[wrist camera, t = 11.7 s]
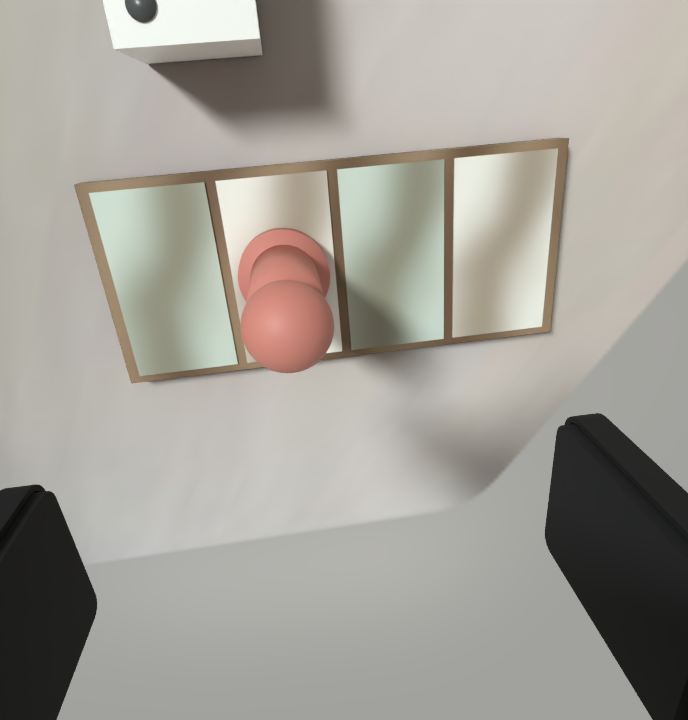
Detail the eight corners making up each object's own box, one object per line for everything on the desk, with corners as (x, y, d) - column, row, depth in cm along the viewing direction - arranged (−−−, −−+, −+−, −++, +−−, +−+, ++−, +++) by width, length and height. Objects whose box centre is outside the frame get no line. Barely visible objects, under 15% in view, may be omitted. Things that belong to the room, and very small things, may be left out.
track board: (559, 137, 25) (570, 138, 25) (542, 325, 30) (550, 332, 29) (80, 182, 24) (73, 185, 23) (135, 375, 28) (130, 384, 27)
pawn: (323, 223, 25) (348, 273, 17) (332, 309, 27) (358, 393, 18) (231, 232, 24) (210, 289, 16) (246, 319, 26) (234, 409, 18)
